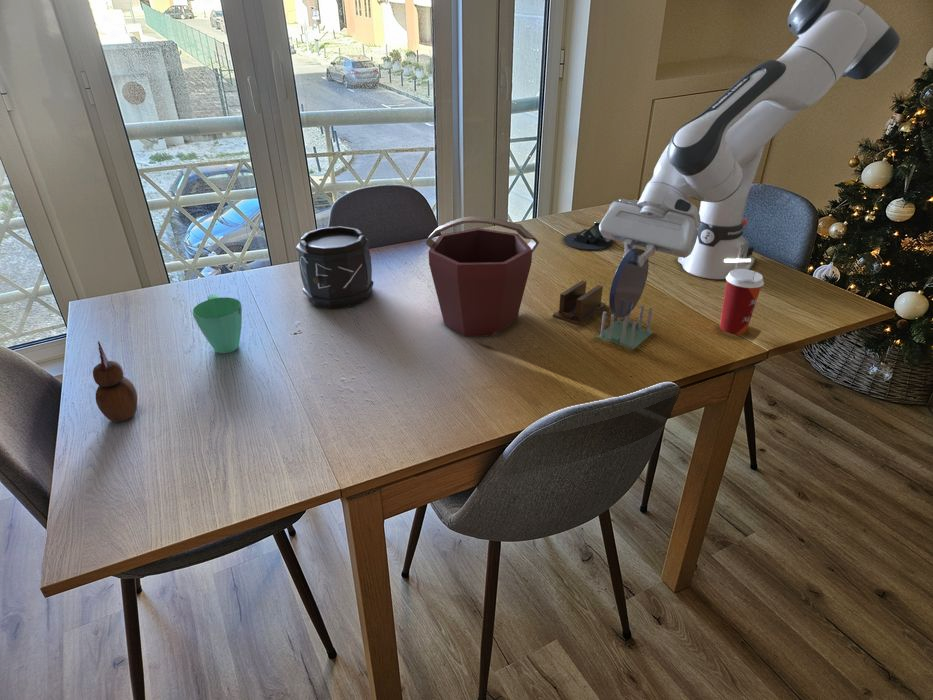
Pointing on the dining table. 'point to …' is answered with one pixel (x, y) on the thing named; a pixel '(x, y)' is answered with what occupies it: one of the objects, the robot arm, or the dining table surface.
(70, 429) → the dining table surface
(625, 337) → the dish rack
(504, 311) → the bucket
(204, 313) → the mug
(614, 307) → the plate
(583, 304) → the napkin holder
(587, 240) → the dark blue round base
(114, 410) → the wooden figurine
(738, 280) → the paper cup
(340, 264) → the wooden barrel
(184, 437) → the dining table surface
